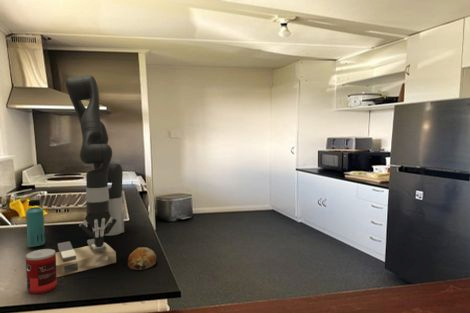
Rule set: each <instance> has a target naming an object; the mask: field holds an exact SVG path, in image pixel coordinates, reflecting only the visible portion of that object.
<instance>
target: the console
mask: <svg viewBox="0 0 470 313" xmlns="http://www.w3.org/2000/svg"><path fill="white" fill-rule="evenodd" d="M104 244H105V245H106V250H102V251H97V252H94V251H93V250H91V249H90V246H89V245H87V246H82V247H77V248H73V249H74V251H75V253H76V259H72V260H67V261H63V260H62V257H61V256H60V252H59V251H57V252H56V251H55V253H56V274H57V278H59V277H64V276H67V275H72V274H76V273H79V272H83V271H87V270H92V269H96V268H101V267H104V266H108V265H111V264H115V263H117V251H116V250H114V249H113V248H112V246H110V245H109V244H107V242H104Z"/></svg>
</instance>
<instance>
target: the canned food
mask: <svg viewBox="0 0 470 313" xmlns="http://www.w3.org/2000/svg"><path fill="white" fill-rule="evenodd" d="M25 270H26V271H25V272H26V285H27V286H26V288H27V291H28V293H30V294H38V293H39V294H43V293H46V292H51V291H52V290H53V289H55V288H56V287H57V283H58V277H57V274H56V250H55V249H52V248H43V249H38V250H37V249H36V250H33V251H30V252H28V253H27V254H26V255H25ZM39 294H38V295H39Z"/></svg>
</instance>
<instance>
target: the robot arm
mask: <svg viewBox="0 0 470 313" xmlns="http://www.w3.org/2000/svg"><path fill="white" fill-rule="evenodd" d="M65 89H66V92H67V94H68V96H69V99H70V101H71V104H72V106H73V108H74V111H75V113H76V115H77V118H78V121H79V125H80V130H81V137H82V142H81V147H80V151H79V158H80V160H81V162H82V163H83V164H86V165H92V164H93V168H94V169H93V170H89V171H87V172H86V176H85V177H86V178H85V180H86V184H85V185H86V191H85V201H86V202H85V204H86V205H85V206H86V207H85V208H86V216H85V218H84V220H83V222H79V224H78V226H79V227H80V228H81V229H82V230H83V231H84V232H85V233H86V234H87V235H88V236H89V237H90V238H92V237H93V239H94V244H95V246H97V247H102V245H103V243H105V242H104V236H117V235H120V234H121V233H125V214H124V212H123V198H122V197H123V196H122V194H123V193H122V192H123V167H122V165H121V164H120V163H111V162H112V157H113V149H112V147H111V146H110V145H109V144H108V143H109V136H108V133H107V132H108V131H107V128H106V125H105V124H104V123H103V121H101V114H100V113H101V112H100V110H101V109H100V107H101V106H100V92H99V87H98V83H97V81H96V79H95V77H94V76H93V75H90V74H88V75H80V76H73V77H68V78H67V79H66V80H65ZM87 100H89V102H88V105H87V106H85V105H84V103H83V101H87ZM108 184H111V186H110V187H109V186H108ZM88 225H89V226H90V227H91V228H92V231H91V230H90V229H89V228H88Z"/></svg>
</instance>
